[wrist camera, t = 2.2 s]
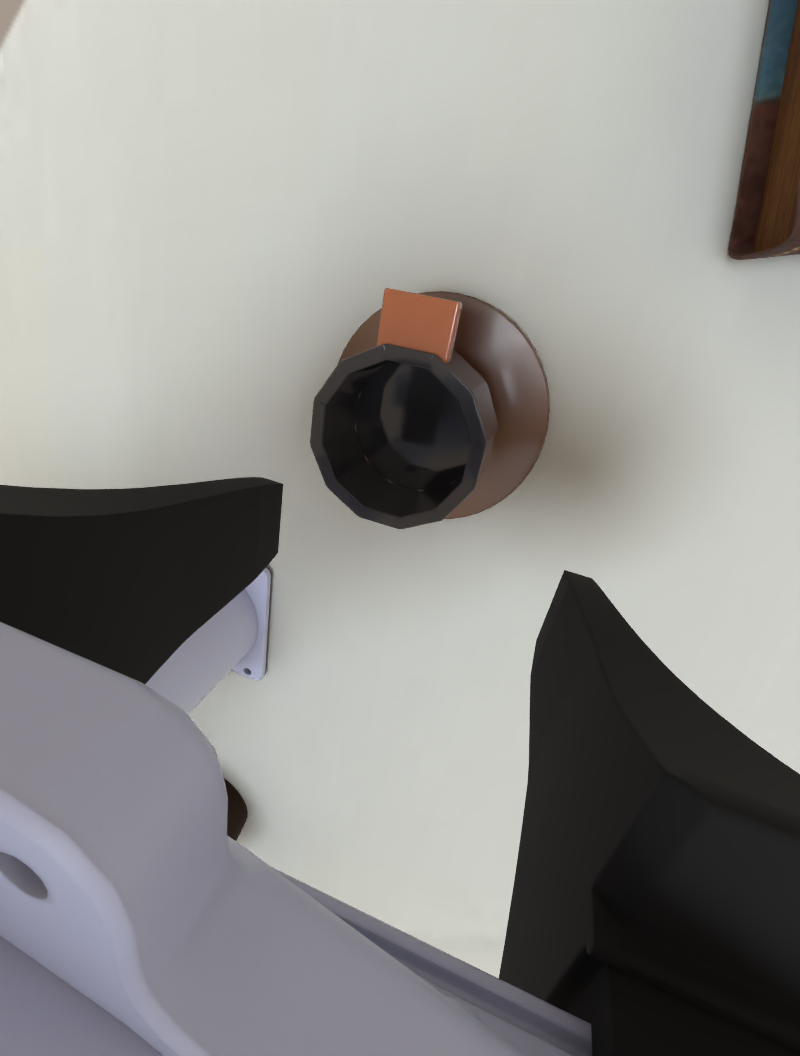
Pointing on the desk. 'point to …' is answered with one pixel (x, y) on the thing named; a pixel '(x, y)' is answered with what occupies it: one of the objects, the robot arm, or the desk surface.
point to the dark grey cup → (405, 418)
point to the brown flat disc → (492, 393)
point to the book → (772, 146)
